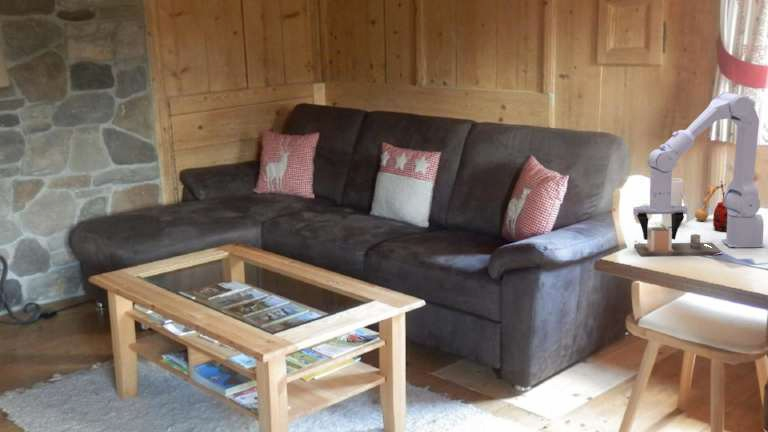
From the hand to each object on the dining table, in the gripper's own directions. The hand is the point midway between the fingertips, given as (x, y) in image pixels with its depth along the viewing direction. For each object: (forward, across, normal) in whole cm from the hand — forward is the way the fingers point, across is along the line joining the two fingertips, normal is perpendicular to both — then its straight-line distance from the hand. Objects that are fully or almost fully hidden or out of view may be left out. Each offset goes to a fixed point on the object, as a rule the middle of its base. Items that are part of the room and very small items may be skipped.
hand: (659, 238), depth 243 cm
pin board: (+4, -5, 0) cm, 6 cm away
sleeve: (+3, 0, 0) cm, 3 cm away
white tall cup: (+4, -10, -30) cm, 32 cm away
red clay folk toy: (+4, -25, -24) cm, 35 cm away
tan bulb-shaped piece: (+4, -22, -36) cm, 42 cm away
